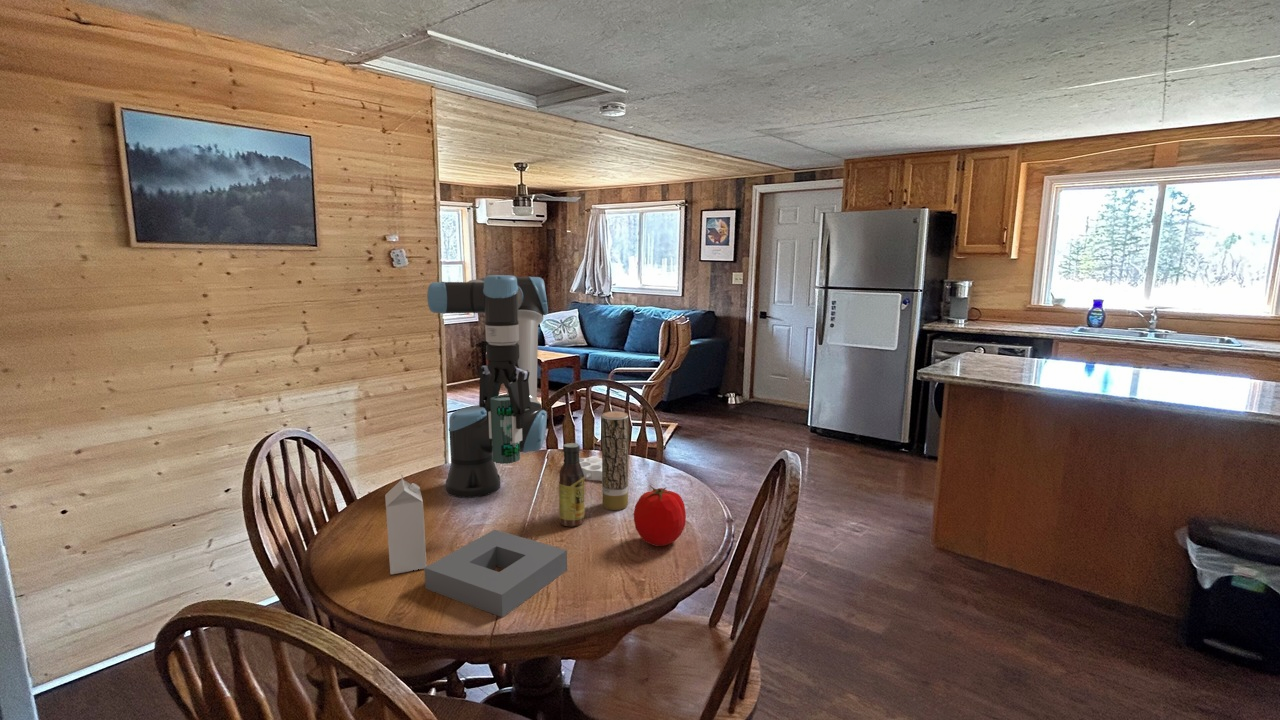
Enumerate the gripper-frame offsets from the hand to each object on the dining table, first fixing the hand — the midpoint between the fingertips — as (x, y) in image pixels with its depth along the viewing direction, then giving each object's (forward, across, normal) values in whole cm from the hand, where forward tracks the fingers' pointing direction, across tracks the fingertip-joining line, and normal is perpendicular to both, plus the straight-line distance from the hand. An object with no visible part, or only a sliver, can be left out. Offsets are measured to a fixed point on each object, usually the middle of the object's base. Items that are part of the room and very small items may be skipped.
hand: (505, 439), depth 145 cm
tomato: (+23, +35, +12) cm, 44 cm away
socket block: (+22, +14, -19) cm, 33 cm away
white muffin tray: (+24, -4, +44) cm, 50 cm away
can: (+5, 0, 0) cm, 5 cm away
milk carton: (+23, -7, -24) cm, 34 cm away
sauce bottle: (+23, +11, +11) cm, 28 cm away
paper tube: (+23, +15, +25) cm, 37 cm away
